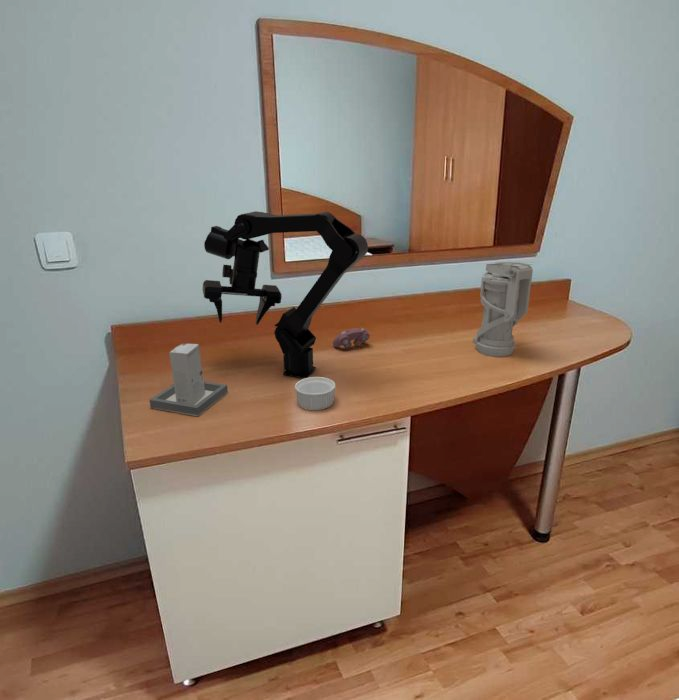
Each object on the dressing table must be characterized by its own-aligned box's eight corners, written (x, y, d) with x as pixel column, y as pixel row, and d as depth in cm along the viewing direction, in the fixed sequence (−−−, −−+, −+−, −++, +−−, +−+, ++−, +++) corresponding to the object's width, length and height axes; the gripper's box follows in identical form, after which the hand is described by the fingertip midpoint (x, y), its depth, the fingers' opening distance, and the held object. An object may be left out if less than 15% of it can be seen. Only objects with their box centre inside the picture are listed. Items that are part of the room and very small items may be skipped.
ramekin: (338, 410, 110) (338, 391, 108) (297, 414, 109) (296, 395, 107) (332, 392, 118) (331, 375, 117) (293, 395, 117) (292, 378, 115)
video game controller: (336, 355, 143) (341, 338, 138) (330, 344, 146) (335, 326, 141) (368, 349, 147) (373, 332, 142) (361, 338, 150) (366, 321, 145)
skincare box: (194, 405, 112) (187, 353, 107) (175, 403, 112) (168, 352, 108) (206, 393, 117) (200, 343, 113) (188, 391, 118) (181, 342, 114)
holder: (227, 392, 118) (227, 384, 117) (197, 416, 108) (196, 408, 107) (183, 385, 122) (182, 377, 121) (150, 408, 111) (149, 399, 111)
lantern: (467, 347, 144) (475, 258, 135) (496, 341, 148) (505, 255, 139) (499, 363, 133) (510, 267, 124) (529, 356, 137) (542, 263, 128)
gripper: (276, 257, 134) (268, 312, 140) (203, 250, 127) (198, 308, 134) (286, 272, 124) (276, 330, 131) (207, 265, 118) (201, 326, 124)
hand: (238, 323), depth 130 cm, fingers open, 9 cm apart
